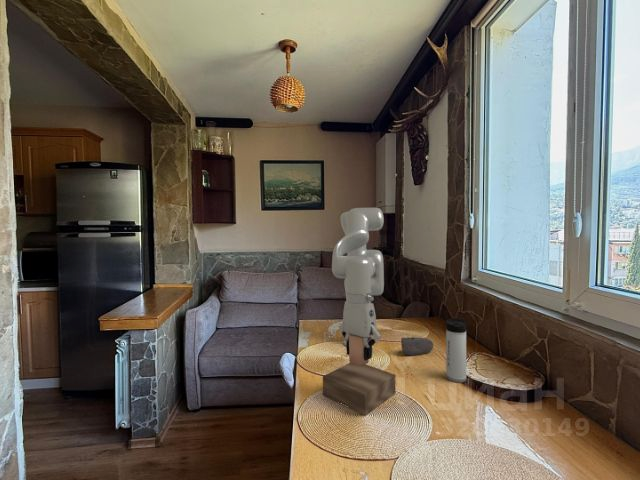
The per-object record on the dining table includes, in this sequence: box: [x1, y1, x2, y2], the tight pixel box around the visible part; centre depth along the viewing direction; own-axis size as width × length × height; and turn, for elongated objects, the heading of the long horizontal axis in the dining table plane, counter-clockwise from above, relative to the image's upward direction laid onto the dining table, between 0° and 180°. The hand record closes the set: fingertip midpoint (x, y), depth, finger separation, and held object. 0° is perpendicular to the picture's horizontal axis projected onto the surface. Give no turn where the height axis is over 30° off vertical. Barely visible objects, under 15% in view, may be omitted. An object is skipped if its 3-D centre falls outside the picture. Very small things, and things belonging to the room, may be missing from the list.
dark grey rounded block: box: [400, 336, 434, 356], centre depth 128 cm, size 15×5×7 cm, turn 100°
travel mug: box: [445, 317, 467, 384], centre depth 106 cm, size 6×7×20 cm
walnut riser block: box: [322, 362, 397, 417], centre depth 97 cm, size 16×16×6 cm
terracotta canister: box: [348, 334, 370, 365], centre depth 96 cm, size 6×6×8 cm
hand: (359, 355), depth 96 cm, fingers closed on terracotta canister, 6 cm apart
